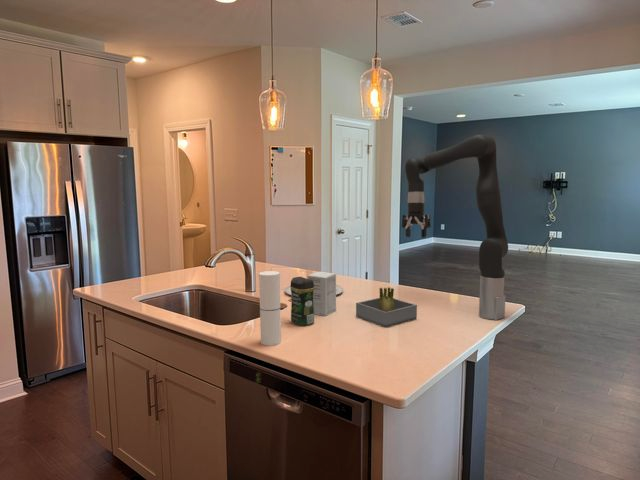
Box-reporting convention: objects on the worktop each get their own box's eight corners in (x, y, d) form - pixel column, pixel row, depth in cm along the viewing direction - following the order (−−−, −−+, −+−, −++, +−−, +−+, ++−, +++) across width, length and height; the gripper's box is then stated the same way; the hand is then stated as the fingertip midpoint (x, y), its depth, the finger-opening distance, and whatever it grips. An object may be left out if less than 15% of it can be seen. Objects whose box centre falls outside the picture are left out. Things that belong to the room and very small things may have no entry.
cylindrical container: (262, 346, 154) (260, 275, 151) (259, 339, 161) (257, 271, 158) (282, 344, 156) (281, 274, 153) (279, 337, 163) (277, 270, 159)
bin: (416, 319, 183) (416, 305, 182) (385, 327, 173) (385, 312, 172) (386, 309, 197) (386, 296, 196) (356, 316, 187) (356, 302, 186)
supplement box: (318, 307, 200) (318, 271, 198) (336, 310, 196) (336, 273, 193) (307, 313, 192) (306, 275, 190) (325, 316, 187) (325, 277, 185)
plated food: (273, 291, 231) (273, 285, 230) (319, 283, 249) (319, 277, 248) (307, 304, 207) (307, 297, 207) (355, 293, 225) (355, 287, 225)
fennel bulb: (377, 315, 185) (378, 287, 184) (384, 312, 189) (385, 285, 187) (389, 318, 181) (389, 289, 180) (396, 315, 185) (396, 287, 183)
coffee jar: (287, 321, 181) (286, 277, 178) (303, 317, 186) (303, 274, 183) (301, 327, 173) (300, 281, 171) (317, 323, 178) (317, 278, 176)
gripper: (398, 202, 207) (398, 237, 208) (424, 201, 197) (423, 238, 197) (408, 202, 212) (408, 236, 213) (433, 201, 202) (433, 237, 202)
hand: (415, 237), depth 205 cm, fingers open, 8 cm apart
